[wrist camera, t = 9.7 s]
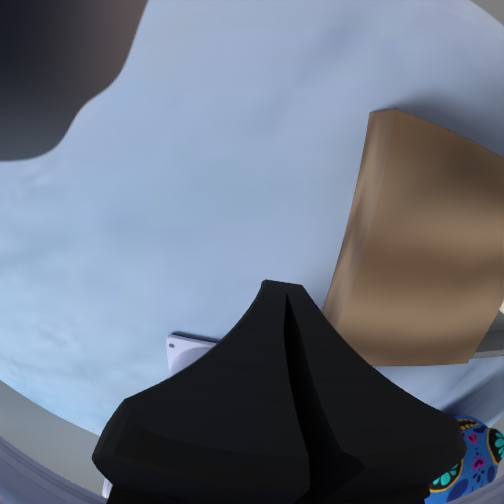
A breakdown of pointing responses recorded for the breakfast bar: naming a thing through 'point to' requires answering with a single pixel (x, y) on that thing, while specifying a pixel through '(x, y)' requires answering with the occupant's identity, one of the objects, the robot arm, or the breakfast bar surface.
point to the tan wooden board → (420, 246)
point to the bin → (492, 340)
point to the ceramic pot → (470, 463)
